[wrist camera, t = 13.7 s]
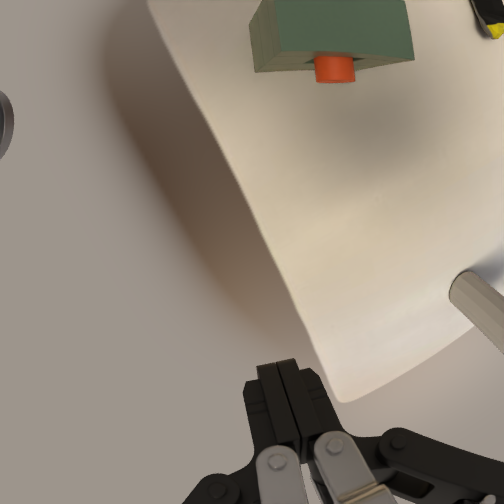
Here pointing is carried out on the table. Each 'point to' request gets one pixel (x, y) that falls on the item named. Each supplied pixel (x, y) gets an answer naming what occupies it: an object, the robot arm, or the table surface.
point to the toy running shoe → (490, 16)
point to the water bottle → (480, 306)
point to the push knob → (334, 69)
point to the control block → (329, 33)
